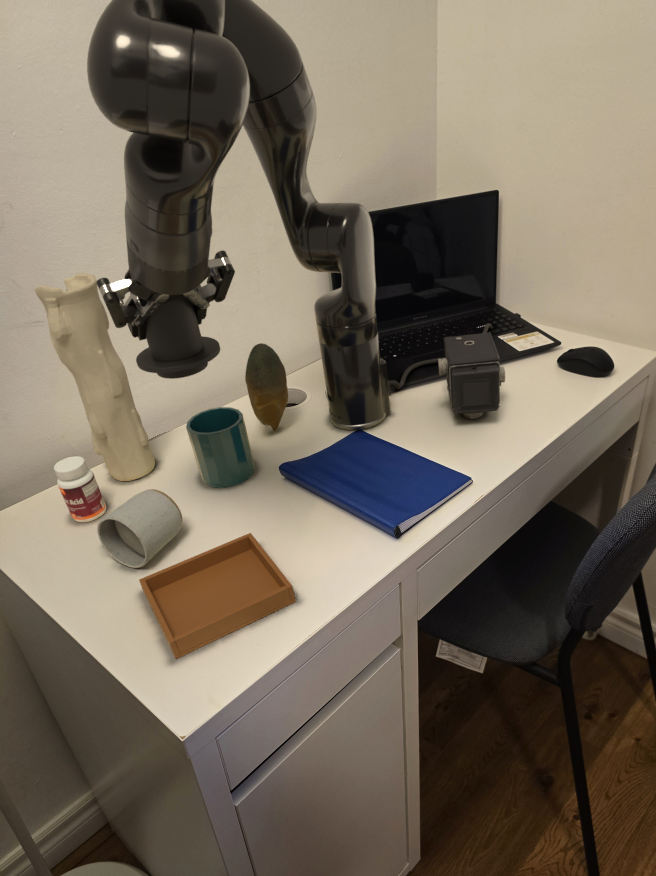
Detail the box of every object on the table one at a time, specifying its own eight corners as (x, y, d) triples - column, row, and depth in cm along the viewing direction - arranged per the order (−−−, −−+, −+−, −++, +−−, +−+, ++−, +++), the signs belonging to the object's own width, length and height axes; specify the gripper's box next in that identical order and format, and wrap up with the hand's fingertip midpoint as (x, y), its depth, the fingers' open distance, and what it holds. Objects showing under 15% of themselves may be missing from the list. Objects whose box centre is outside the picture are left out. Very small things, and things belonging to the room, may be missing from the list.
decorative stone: (269, 416, 113) (251, 333, 104) (302, 418, 111) (287, 333, 103) (247, 445, 105) (226, 358, 97) (282, 447, 104) (264, 358, 95)
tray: (254, 547, 83) (250, 532, 82) (296, 601, 75) (292, 585, 73) (145, 595, 78) (138, 579, 77) (175, 659, 69) (169, 643, 68)
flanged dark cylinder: (207, 346, 83) (189, 272, 78) (235, 368, 76) (217, 290, 71) (132, 367, 79) (108, 292, 74) (153, 393, 72) (128, 312, 67)
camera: (436, 398, 115) (444, 432, 102) (432, 334, 109) (440, 361, 96) (497, 392, 114) (513, 426, 101) (496, 327, 109) (513, 354, 96)
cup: (243, 453, 103) (230, 401, 98) (263, 474, 98) (250, 421, 92) (194, 471, 100) (179, 419, 95) (212, 494, 95) (196, 440, 89)
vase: (119, 492, 97) (40, 291, 80) (93, 473, 103) (15, 281, 85) (169, 466, 102) (105, 271, 85) (142, 450, 107) (77, 263, 90)
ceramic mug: (193, 534, 87) (177, 486, 83) (154, 573, 81) (134, 524, 77) (131, 522, 91) (112, 475, 87) (89, 559, 85) (67, 511, 81)
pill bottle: (65, 520, 93) (42, 471, 88) (88, 501, 96) (67, 452, 91) (92, 525, 91) (70, 475, 86) (114, 505, 95) (94, 456, 90)
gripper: (225, 185, 64) (213, 283, 79) (73, 214, 58) (92, 313, 74) (257, 251, 63) (238, 337, 78) (106, 286, 58) (117, 371, 73)
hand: (167, 325), depth 76 cm, fingers closed on flanged dark cylinder, 6 cm apart
